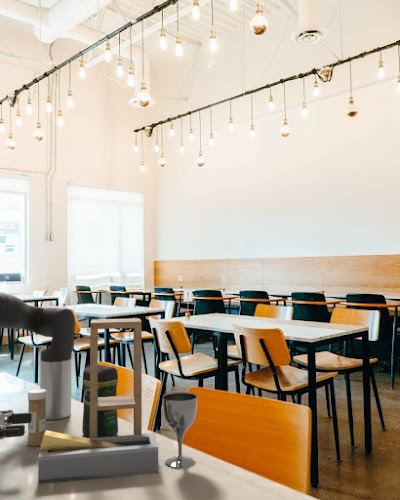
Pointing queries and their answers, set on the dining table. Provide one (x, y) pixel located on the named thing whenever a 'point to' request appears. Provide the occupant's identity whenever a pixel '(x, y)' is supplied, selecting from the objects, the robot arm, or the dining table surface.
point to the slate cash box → (101, 460)
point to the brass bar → (71, 442)
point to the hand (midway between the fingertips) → (28, 423)
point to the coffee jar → (106, 388)
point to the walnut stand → (96, 401)
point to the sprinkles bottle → (37, 416)
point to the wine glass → (179, 422)
